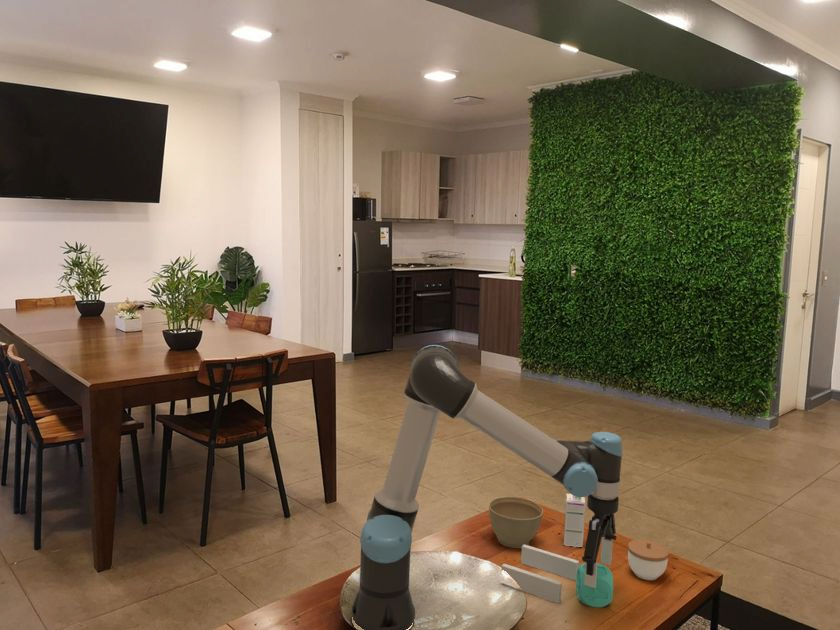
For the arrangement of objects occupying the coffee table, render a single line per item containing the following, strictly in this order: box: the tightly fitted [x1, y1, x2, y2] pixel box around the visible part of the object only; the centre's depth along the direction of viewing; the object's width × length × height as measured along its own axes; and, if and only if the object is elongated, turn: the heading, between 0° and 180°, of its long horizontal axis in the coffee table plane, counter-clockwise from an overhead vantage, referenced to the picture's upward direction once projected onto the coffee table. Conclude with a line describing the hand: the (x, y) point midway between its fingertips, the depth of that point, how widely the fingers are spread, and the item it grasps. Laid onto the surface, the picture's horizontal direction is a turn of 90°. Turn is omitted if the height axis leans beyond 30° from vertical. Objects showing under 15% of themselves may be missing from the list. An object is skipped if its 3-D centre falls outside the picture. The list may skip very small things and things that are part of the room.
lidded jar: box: [627, 539, 670, 581], centre depth 180 cm, size 11×11×9 cm
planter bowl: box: [488, 496, 544, 549], centre depth 196 cm, size 16×16×11 cm
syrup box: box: [563, 493, 586, 548], centre depth 197 cm, size 6×6×14 cm
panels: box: [501, 544, 580, 604], centre depth 174 cm, size 16×15×5 cm
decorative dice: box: [575, 562, 614, 608], centre depth 167 cm, size 8×8×8 cm
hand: (598, 574), depth 166 cm, fingers open, 13 cm apart
